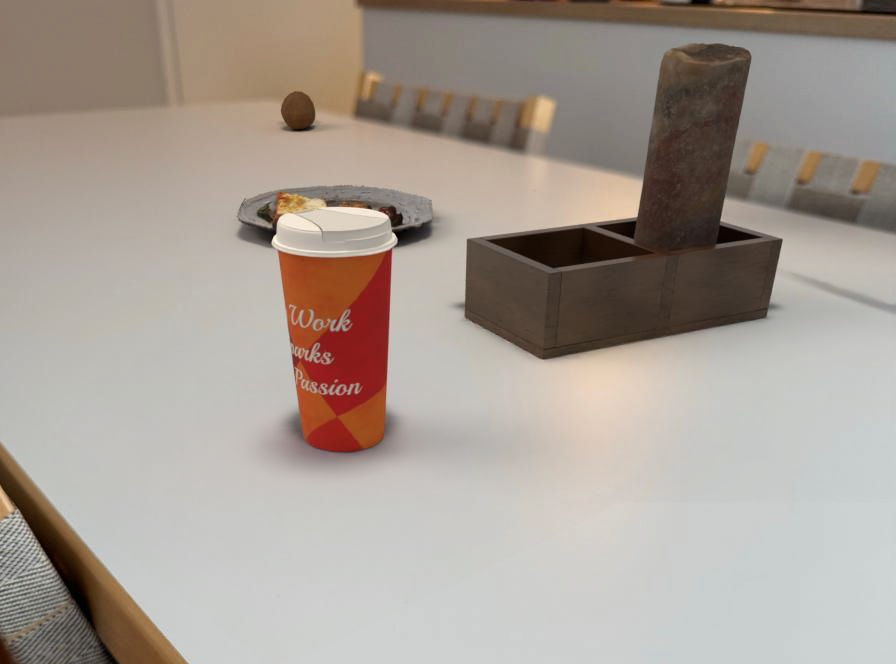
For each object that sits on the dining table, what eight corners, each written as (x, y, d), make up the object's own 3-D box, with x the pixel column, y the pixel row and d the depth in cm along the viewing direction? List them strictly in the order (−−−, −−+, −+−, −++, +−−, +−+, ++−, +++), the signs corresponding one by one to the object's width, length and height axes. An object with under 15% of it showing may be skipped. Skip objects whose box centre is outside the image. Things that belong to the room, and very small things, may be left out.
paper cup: (265, 433, 66) (244, 216, 58) (352, 405, 70) (344, 199, 62) (334, 470, 61) (322, 239, 53) (423, 437, 66) (424, 219, 57)
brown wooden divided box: (674, 282, 97) (685, 210, 93) (766, 317, 88) (783, 238, 84) (464, 316, 88) (466, 238, 84) (542, 359, 78) (549, 273, 74)
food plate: (435, 252, 107) (435, 218, 105) (227, 252, 107) (223, 218, 105) (430, 205, 127) (430, 176, 125) (255, 205, 127) (253, 176, 125)
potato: (280, 132, 181) (277, 94, 177) (283, 125, 189) (280, 88, 185) (315, 132, 181) (313, 94, 178) (316, 124, 189) (314, 88, 186)
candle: (720, 294, 90) (765, 45, 78) (691, 313, 85) (735, 50, 74) (644, 281, 94) (677, 41, 82) (612, 299, 89) (642, 46, 77)
